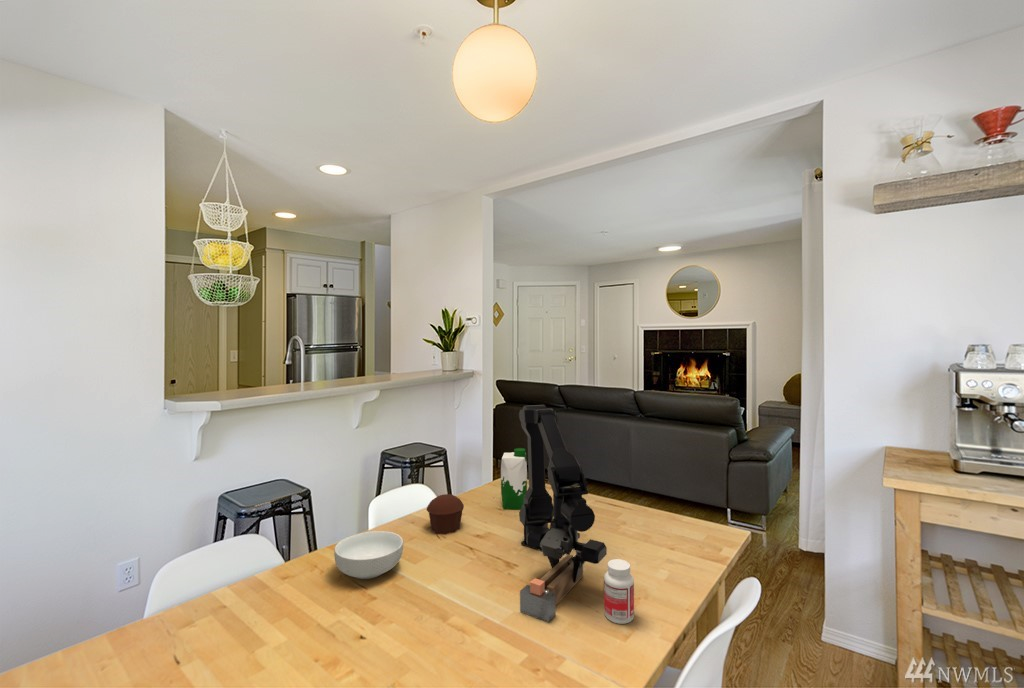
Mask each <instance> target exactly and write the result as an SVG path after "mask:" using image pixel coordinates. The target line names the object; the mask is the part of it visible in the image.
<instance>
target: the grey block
mask: <svg viewBox="0 0 1024 688" xmlns="http://www.w3.org/2000/svg"><path fill="white" fill-rule="evenodd" d="M520 612H521V613H523V614H524V615H525V614H526V615H528V616H531V617H533V618H536V619H538V620H540V621H544V622H545V623H550V622H551V621H552V619H553V618H555V616H556V606H555V594H553V593H551V592H549V590H547V589H546V590H545V592H544V593H543V594H542V595H541V596H539V595H536V594H533V593H530V584H526V585H525V586H524V587H522V589H520V590H519V613H520Z"/></svg>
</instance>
